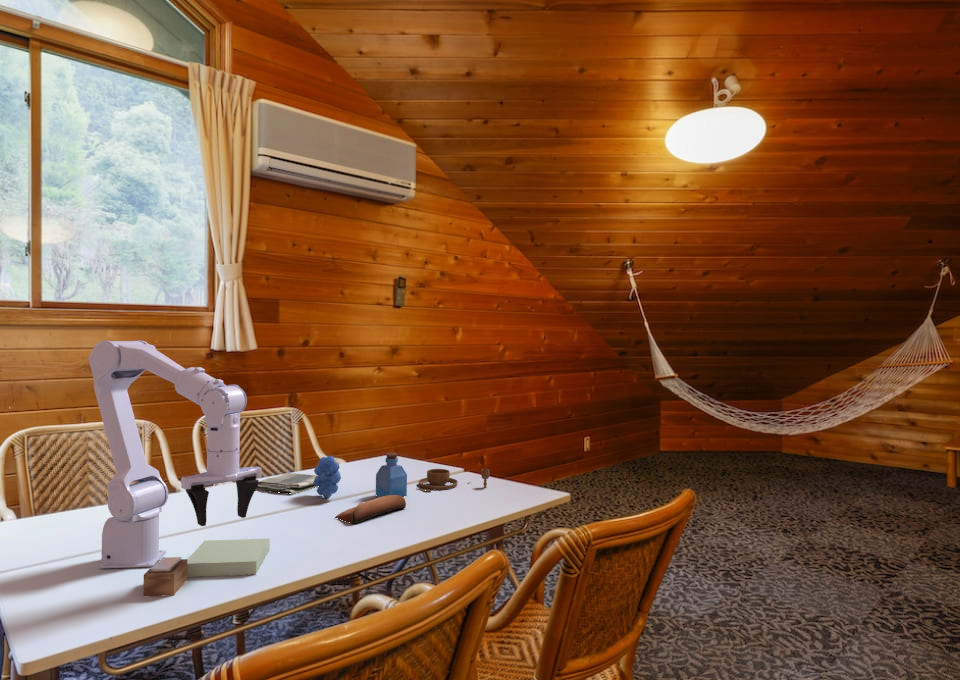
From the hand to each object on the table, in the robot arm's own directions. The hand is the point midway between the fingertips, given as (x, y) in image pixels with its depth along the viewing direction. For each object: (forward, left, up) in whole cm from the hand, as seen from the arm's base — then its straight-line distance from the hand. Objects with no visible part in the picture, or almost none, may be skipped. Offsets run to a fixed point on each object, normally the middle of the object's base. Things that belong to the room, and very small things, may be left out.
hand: (222, 520), depth 117 cm
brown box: (-8, -6, -10) cm, 14 cm away
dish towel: (+2, +68, -11) cm, 69 cm away
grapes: (+15, +53, -10) cm, 56 cm away
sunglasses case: (+27, +36, -11) cm, 46 cm away
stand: (0, +5, -10) cm, 11 cm away
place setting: (+49, +61, -11) cm, 80 cm away
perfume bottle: (+32, +53, -10) cm, 63 cm away
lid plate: (-8, -6, -7) cm, 12 cm away
